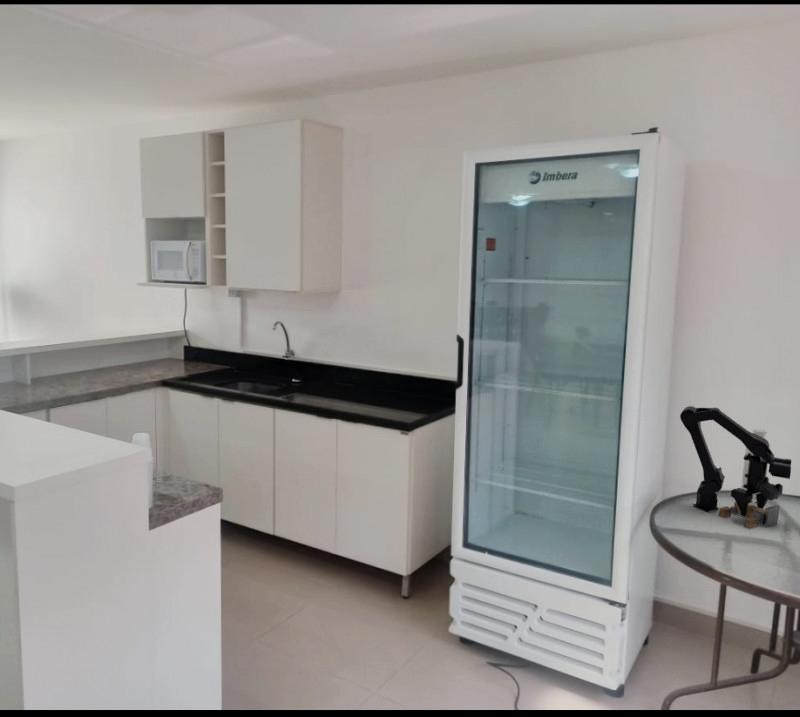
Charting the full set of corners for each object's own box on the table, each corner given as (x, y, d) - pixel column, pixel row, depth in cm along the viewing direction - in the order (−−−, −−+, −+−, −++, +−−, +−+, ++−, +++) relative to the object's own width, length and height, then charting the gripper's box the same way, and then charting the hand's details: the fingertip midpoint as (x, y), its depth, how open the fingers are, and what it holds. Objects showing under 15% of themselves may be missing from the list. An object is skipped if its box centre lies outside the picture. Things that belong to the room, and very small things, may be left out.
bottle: (762, 505, 245) (771, 434, 240) (738, 500, 249) (747, 430, 244) (764, 498, 251) (772, 429, 246) (741, 493, 256) (749, 426, 251)
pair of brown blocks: (718, 515, 234) (719, 508, 234) (725, 513, 236) (726, 506, 235) (748, 528, 224) (749, 520, 223) (756, 526, 225) (757, 518, 225)
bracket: (726, 511, 238) (728, 493, 237) (738, 507, 242) (740, 490, 240) (765, 527, 225) (768, 508, 224) (778, 523, 228) (780, 505, 227)
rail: (733, 510, 238) (734, 501, 237) (739, 509, 239) (740, 500, 239) (764, 523, 227) (765, 514, 227) (770, 521, 229) (771, 512, 228)
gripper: (761, 484, 219) (756, 527, 222) (795, 476, 227) (789, 517, 230) (732, 474, 229) (727, 514, 232) (765, 466, 237) (760, 506, 240)
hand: (751, 513), depth 233 cm, fingers open, 9 cm apart
